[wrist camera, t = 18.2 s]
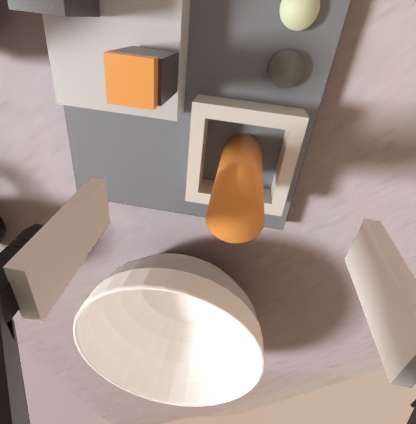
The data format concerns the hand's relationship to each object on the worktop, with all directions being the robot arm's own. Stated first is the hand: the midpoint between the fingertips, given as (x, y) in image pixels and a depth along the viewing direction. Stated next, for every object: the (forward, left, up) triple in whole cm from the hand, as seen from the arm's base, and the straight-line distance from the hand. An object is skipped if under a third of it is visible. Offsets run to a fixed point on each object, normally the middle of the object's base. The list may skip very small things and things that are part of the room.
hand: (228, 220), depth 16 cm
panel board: (-3, -5, -12) cm, 13 cm away
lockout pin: (0, 0, -11) cm, 11 cm away
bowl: (+19, -4, -13) cm, 23 cm away
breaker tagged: (-5, -6, -8) cm, 11 cm away
